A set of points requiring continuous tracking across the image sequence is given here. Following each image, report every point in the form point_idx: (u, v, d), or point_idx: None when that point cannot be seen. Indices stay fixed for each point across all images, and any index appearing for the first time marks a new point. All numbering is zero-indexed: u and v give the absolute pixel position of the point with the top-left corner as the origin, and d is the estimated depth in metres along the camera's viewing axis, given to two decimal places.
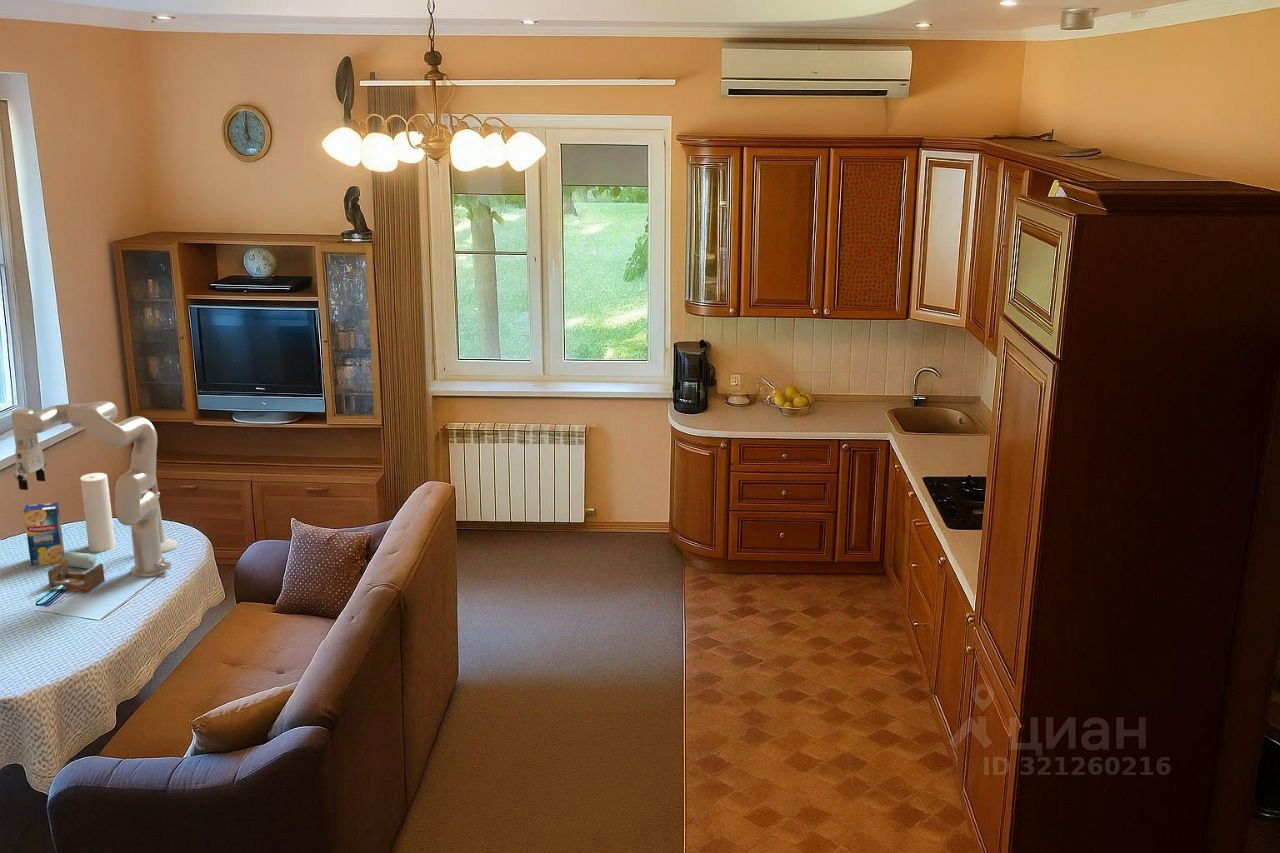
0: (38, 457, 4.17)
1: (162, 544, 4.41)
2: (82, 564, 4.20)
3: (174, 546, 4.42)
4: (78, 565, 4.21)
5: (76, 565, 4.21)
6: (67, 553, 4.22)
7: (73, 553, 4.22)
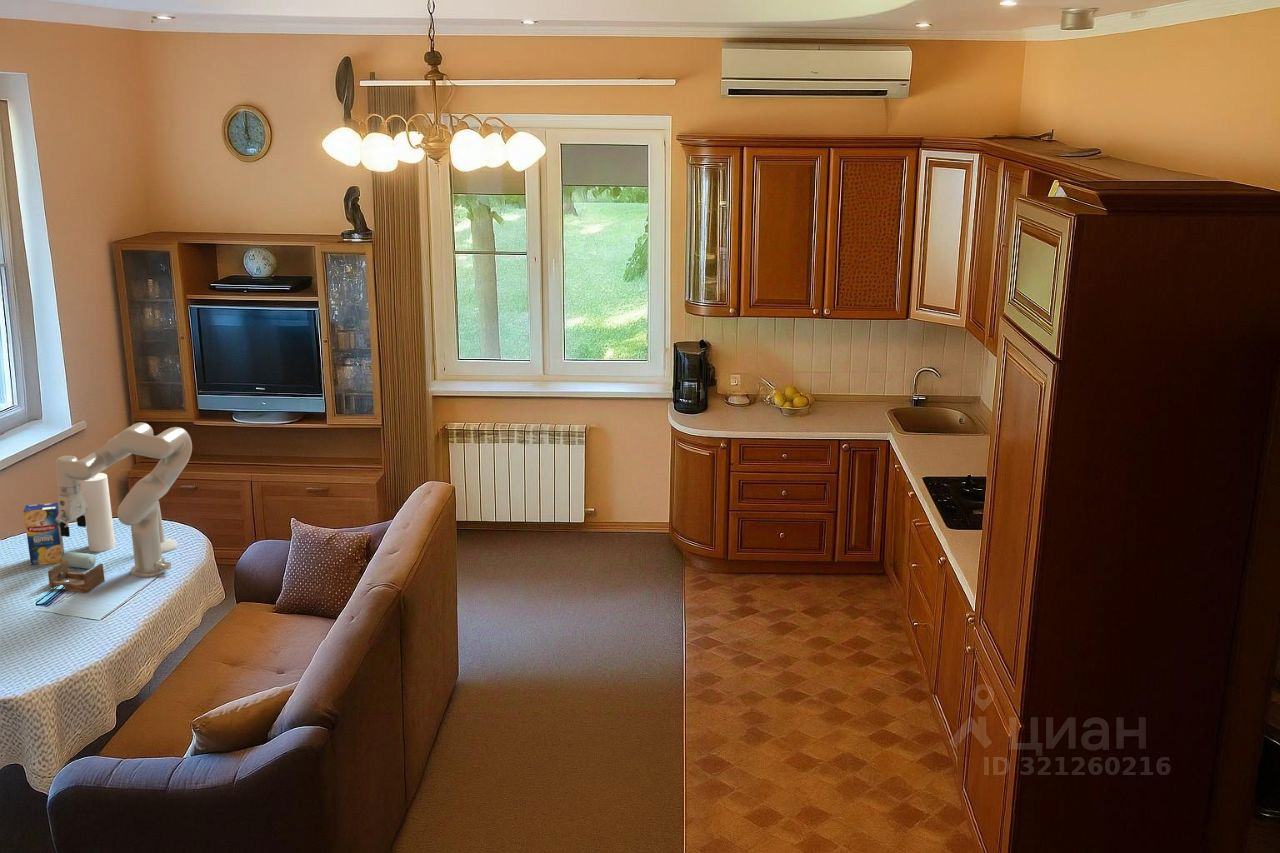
0: (80, 503, 4.17)
1: (162, 544, 4.41)
2: (82, 564, 4.20)
3: (174, 546, 4.42)
4: (78, 565, 4.21)
5: (75, 565, 4.21)
6: (67, 553, 4.22)
7: (73, 553, 4.22)
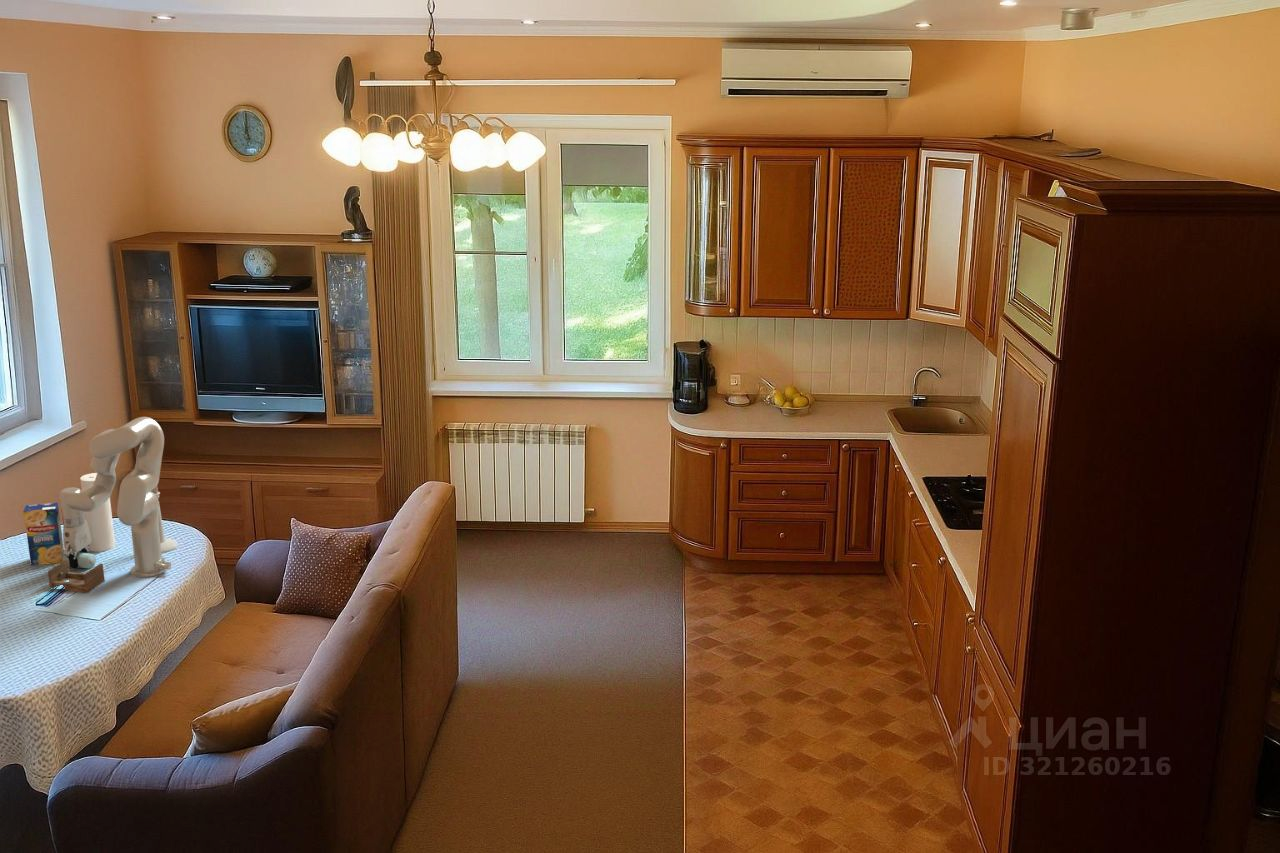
0: (85, 534, 4.21)
1: (162, 544, 4.41)
2: (82, 564, 4.20)
3: (174, 546, 4.42)
4: (78, 565, 4.21)
5: None
6: None
7: None
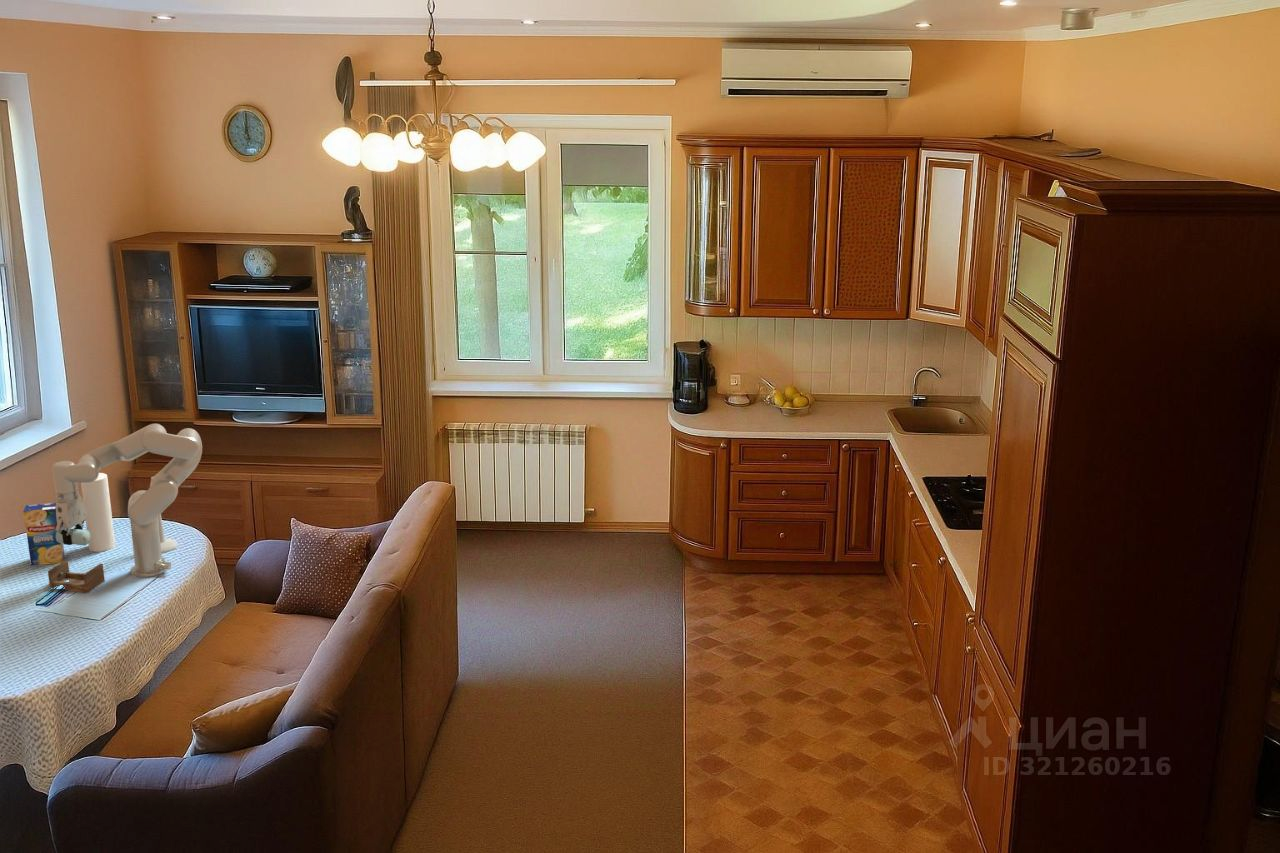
0: (79, 510, 4.07)
1: (162, 544, 4.41)
2: (75, 540, 4.06)
3: (174, 546, 4.42)
4: (72, 541, 4.06)
5: None
6: None
7: None
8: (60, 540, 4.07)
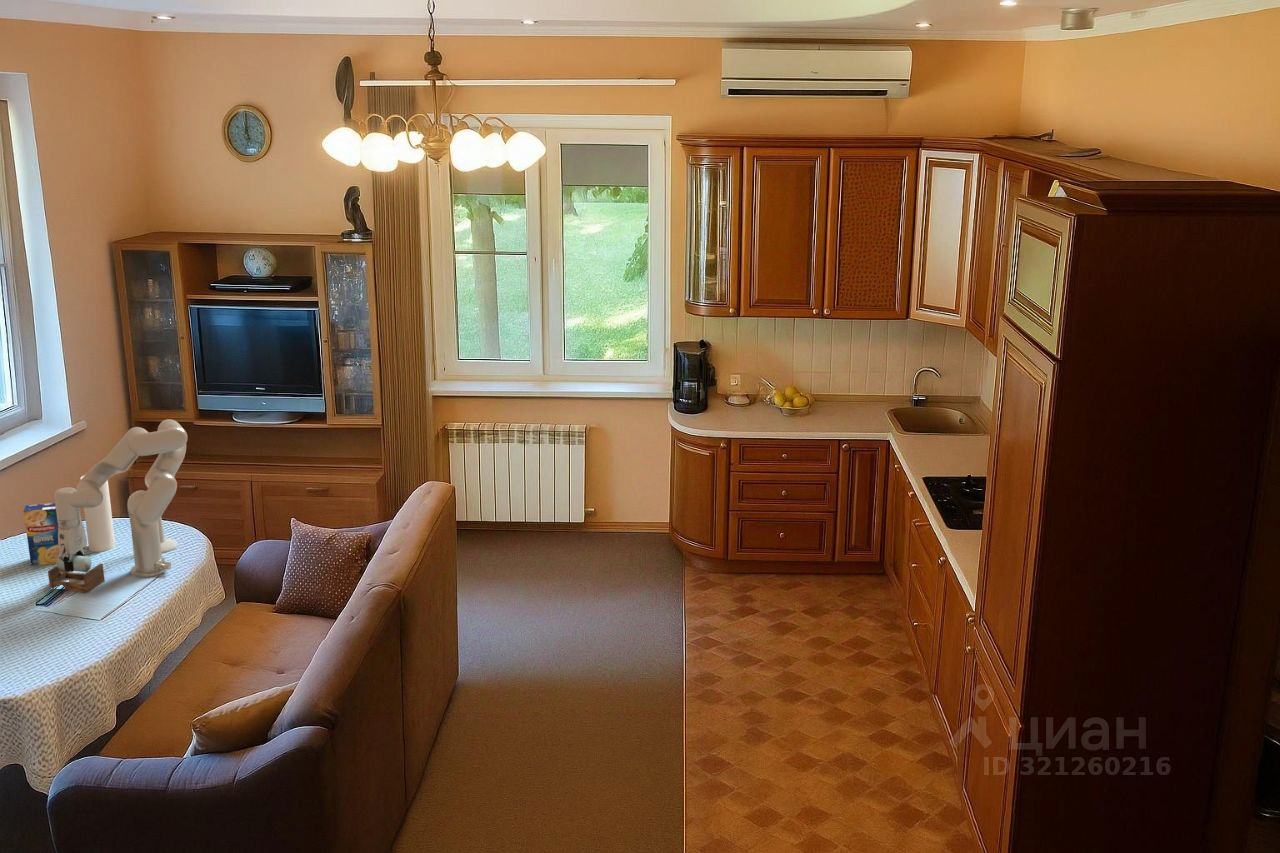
0: (80, 536, 4.04)
1: (162, 544, 4.41)
2: (77, 567, 4.03)
3: (174, 546, 4.42)
4: None
5: None
6: None
7: None
8: (61, 567, 4.05)
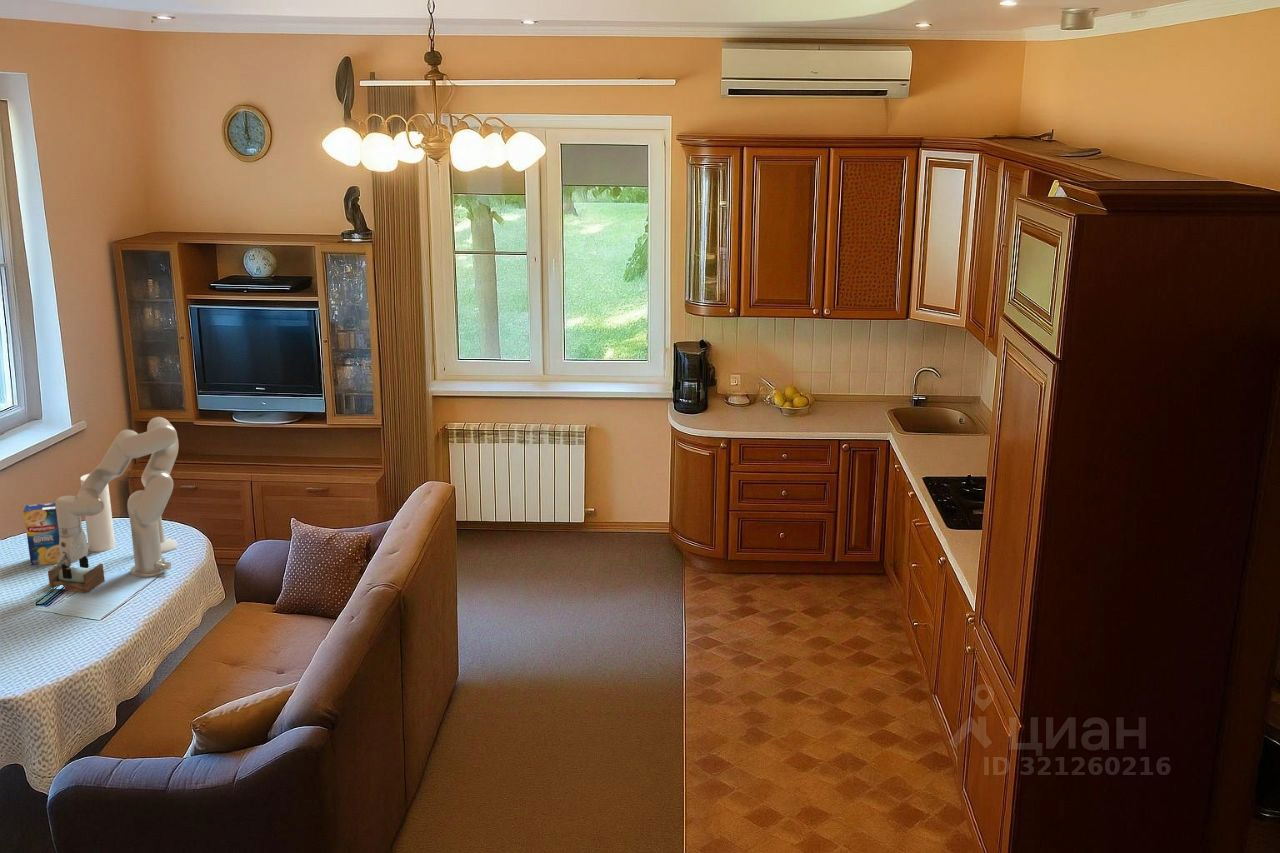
0: (82, 544, 4.05)
1: (162, 544, 4.41)
2: (80, 580, 4.05)
3: (174, 546, 4.42)
4: (76, 581, 4.06)
5: (73, 581, 4.06)
6: None
7: (70, 568, 4.07)
8: (63, 580, 4.06)
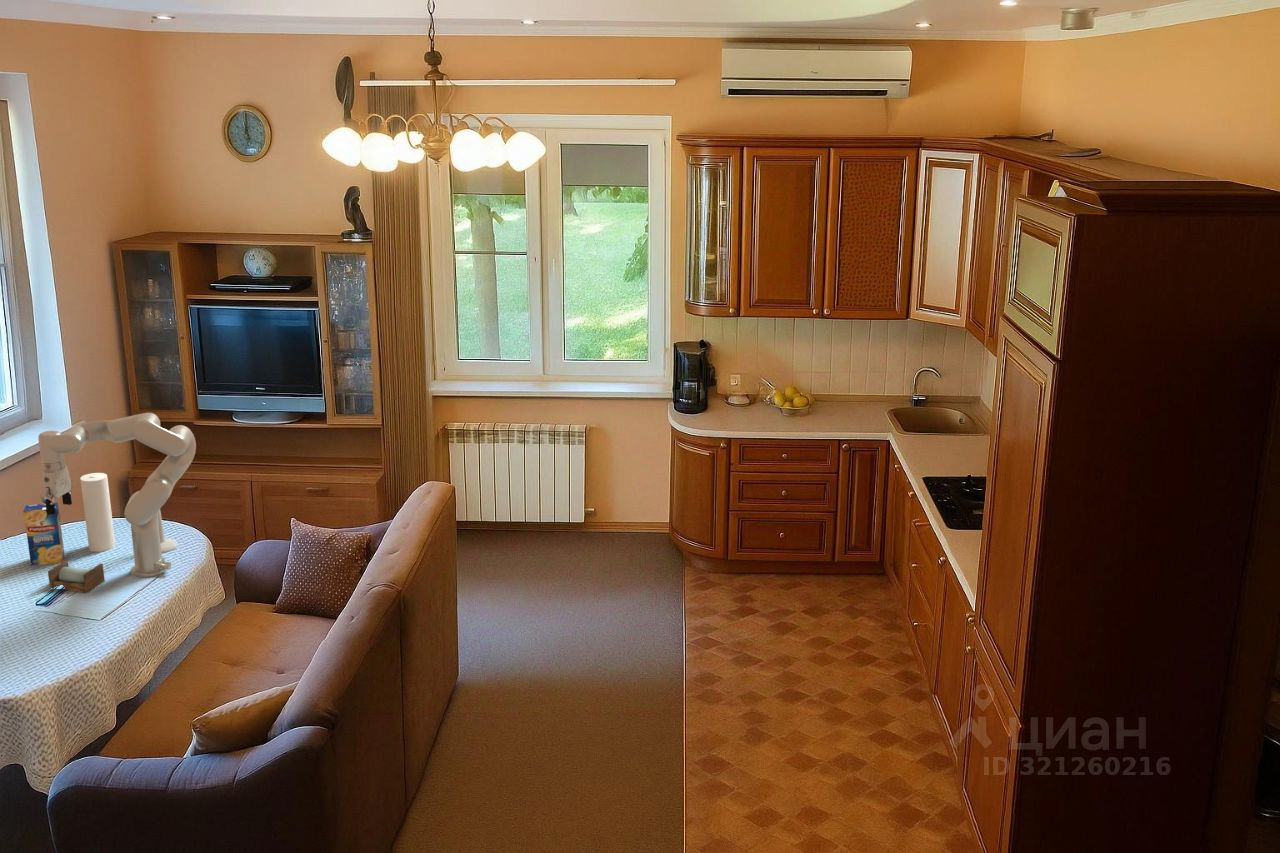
0: (65, 480, 4.06)
1: (162, 544, 4.41)
2: (80, 580, 4.05)
3: (174, 546, 4.42)
4: (76, 581, 4.06)
5: (73, 581, 4.06)
6: (64, 568, 4.07)
7: (70, 568, 4.07)
8: (63, 580, 4.06)
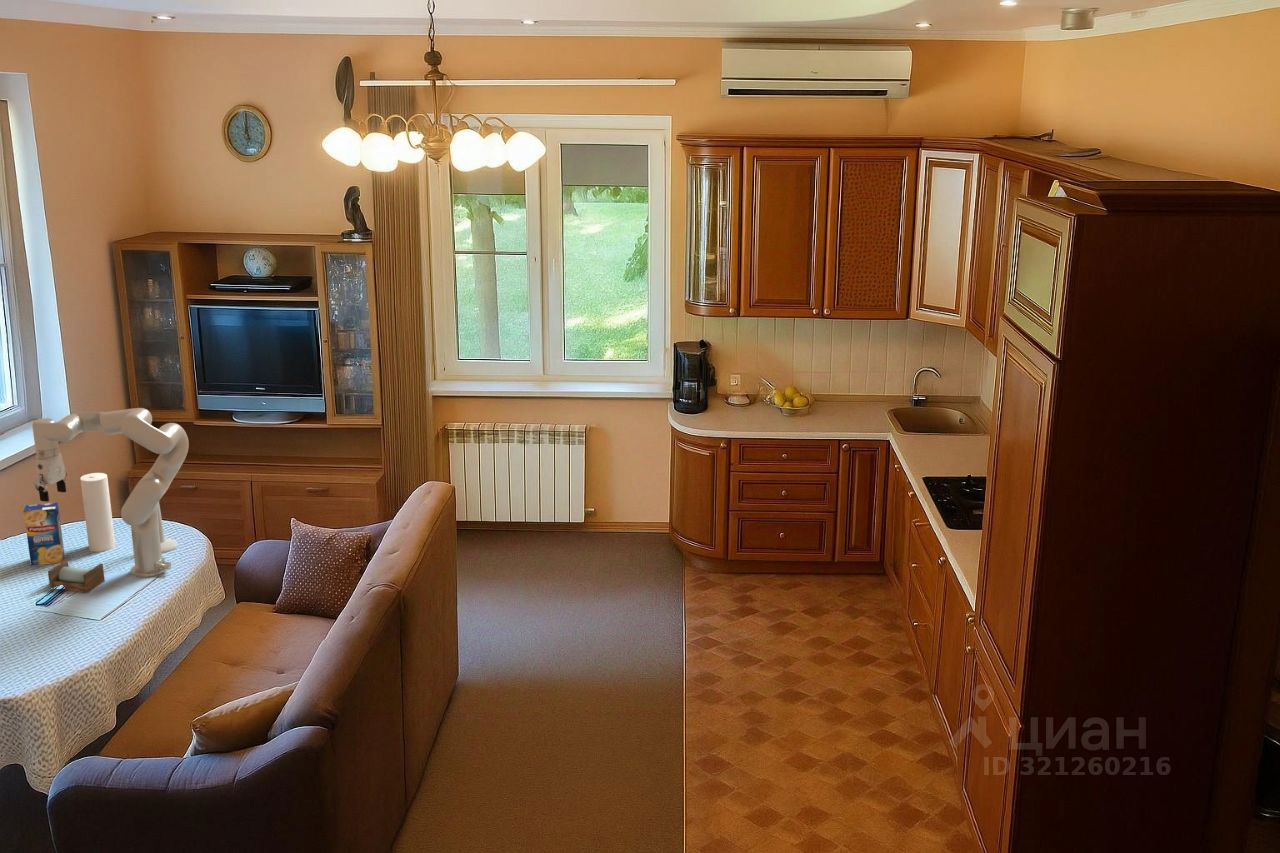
0: (59, 467, 4.08)
1: (162, 544, 4.41)
2: (80, 579, 4.05)
3: (174, 546, 4.42)
4: (76, 581, 4.06)
5: (73, 581, 4.06)
6: (64, 568, 4.07)
7: (70, 568, 4.07)
8: (63, 580, 4.06)
